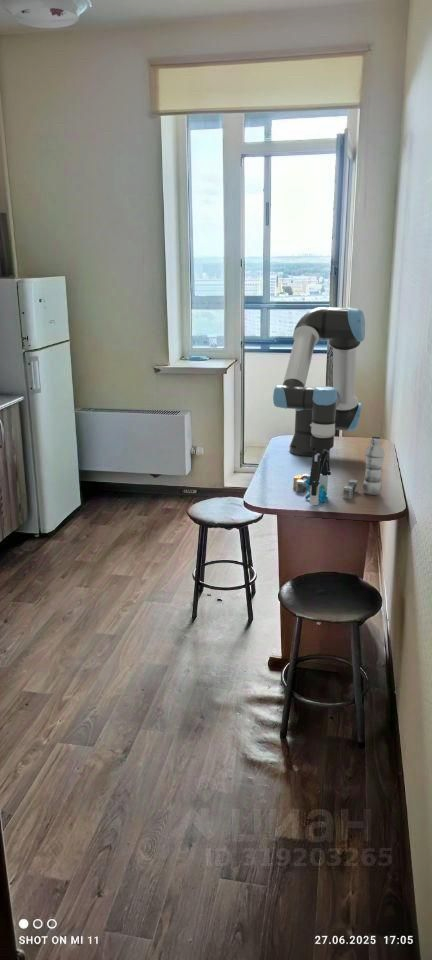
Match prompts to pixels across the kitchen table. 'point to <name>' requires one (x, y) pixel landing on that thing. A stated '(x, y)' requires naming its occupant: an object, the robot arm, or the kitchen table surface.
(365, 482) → the plastic bottle
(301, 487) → the support blocks
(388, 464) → the kitchen table surface
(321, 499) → the gear
